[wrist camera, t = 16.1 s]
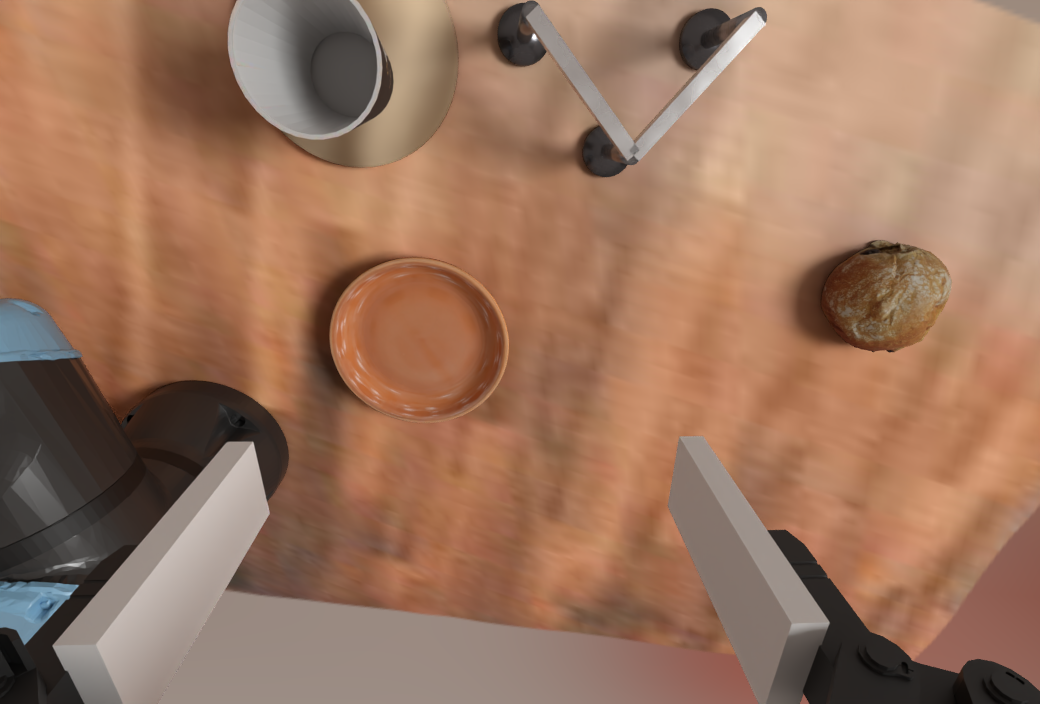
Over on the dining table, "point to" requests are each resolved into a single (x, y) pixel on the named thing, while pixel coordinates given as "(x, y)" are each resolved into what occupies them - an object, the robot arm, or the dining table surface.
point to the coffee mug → (309, 64)
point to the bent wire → (608, 146)
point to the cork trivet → (402, 85)
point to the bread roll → (886, 296)
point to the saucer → (419, 340)
